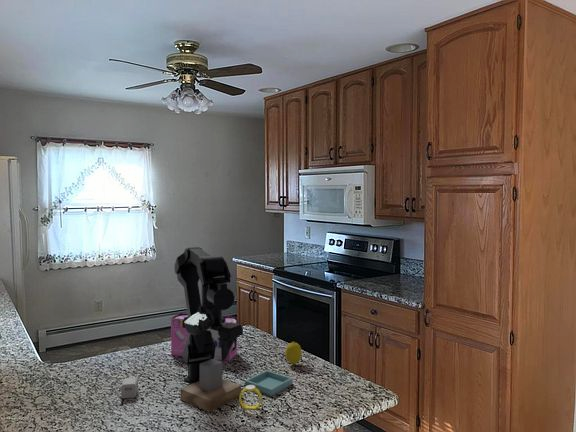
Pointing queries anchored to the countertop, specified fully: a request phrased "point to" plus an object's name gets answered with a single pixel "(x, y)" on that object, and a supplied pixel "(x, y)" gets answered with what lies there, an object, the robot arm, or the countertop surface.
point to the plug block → (210, 375)
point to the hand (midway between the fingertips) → (212, 356)
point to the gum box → (181, 335)
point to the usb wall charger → (129, 387)
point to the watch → (249, 389)
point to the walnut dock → (210, 395)
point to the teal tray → (269, 382)
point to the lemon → (293, 353)
